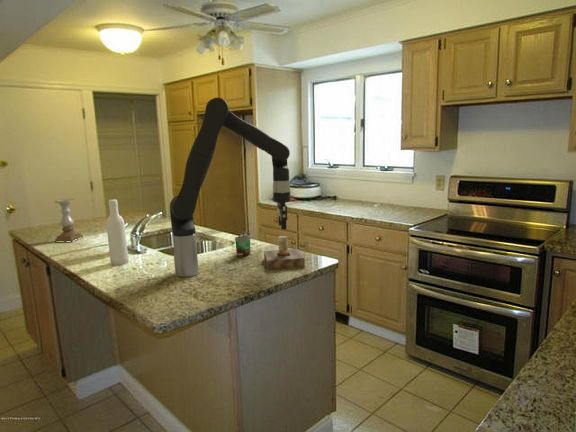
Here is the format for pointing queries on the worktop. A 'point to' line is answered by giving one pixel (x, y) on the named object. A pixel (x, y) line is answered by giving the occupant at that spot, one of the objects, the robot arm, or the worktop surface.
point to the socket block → (284, 259)
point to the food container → (243, 244)
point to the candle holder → (67, 222)
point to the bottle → (116, 236)
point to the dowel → (283, 246)
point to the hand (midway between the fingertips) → (282, 227)
